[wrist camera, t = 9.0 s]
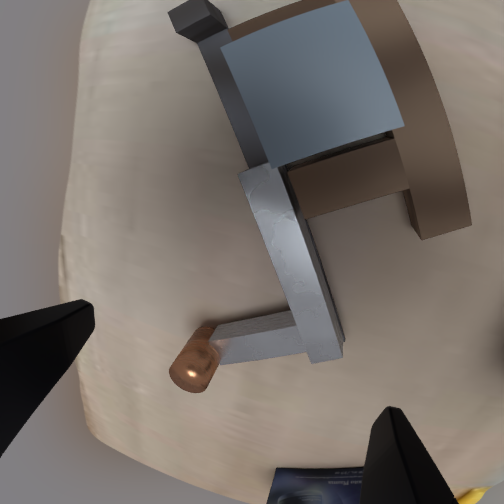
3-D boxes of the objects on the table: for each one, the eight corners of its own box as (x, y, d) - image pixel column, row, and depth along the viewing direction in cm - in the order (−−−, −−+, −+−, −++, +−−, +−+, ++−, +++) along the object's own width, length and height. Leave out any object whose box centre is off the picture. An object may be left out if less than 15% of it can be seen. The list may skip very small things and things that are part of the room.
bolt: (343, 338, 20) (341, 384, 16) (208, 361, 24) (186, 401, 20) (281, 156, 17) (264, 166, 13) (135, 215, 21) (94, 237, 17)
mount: (467, 305, 18) (482, 330, 15) (316, 344, 21) (312, 373, 19) (357, -39, 12) (359, -63, 9) (189, 23, 16) (166, 9, 13)
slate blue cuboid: (370, 127, 16) (405, 126, 8) (302, 149, 17) (271, 169, 9) (342, 60, 15) (348, -1, 7) (275, 84, 16) (220, 47, 8)
